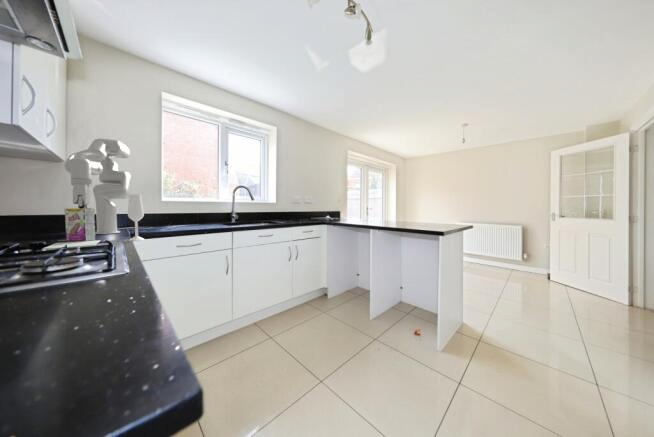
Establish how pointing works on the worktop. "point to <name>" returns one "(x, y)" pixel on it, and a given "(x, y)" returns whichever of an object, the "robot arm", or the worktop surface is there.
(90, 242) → the mat
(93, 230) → the candy bar box
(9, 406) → the worktop surface
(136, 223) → the champagne flute
